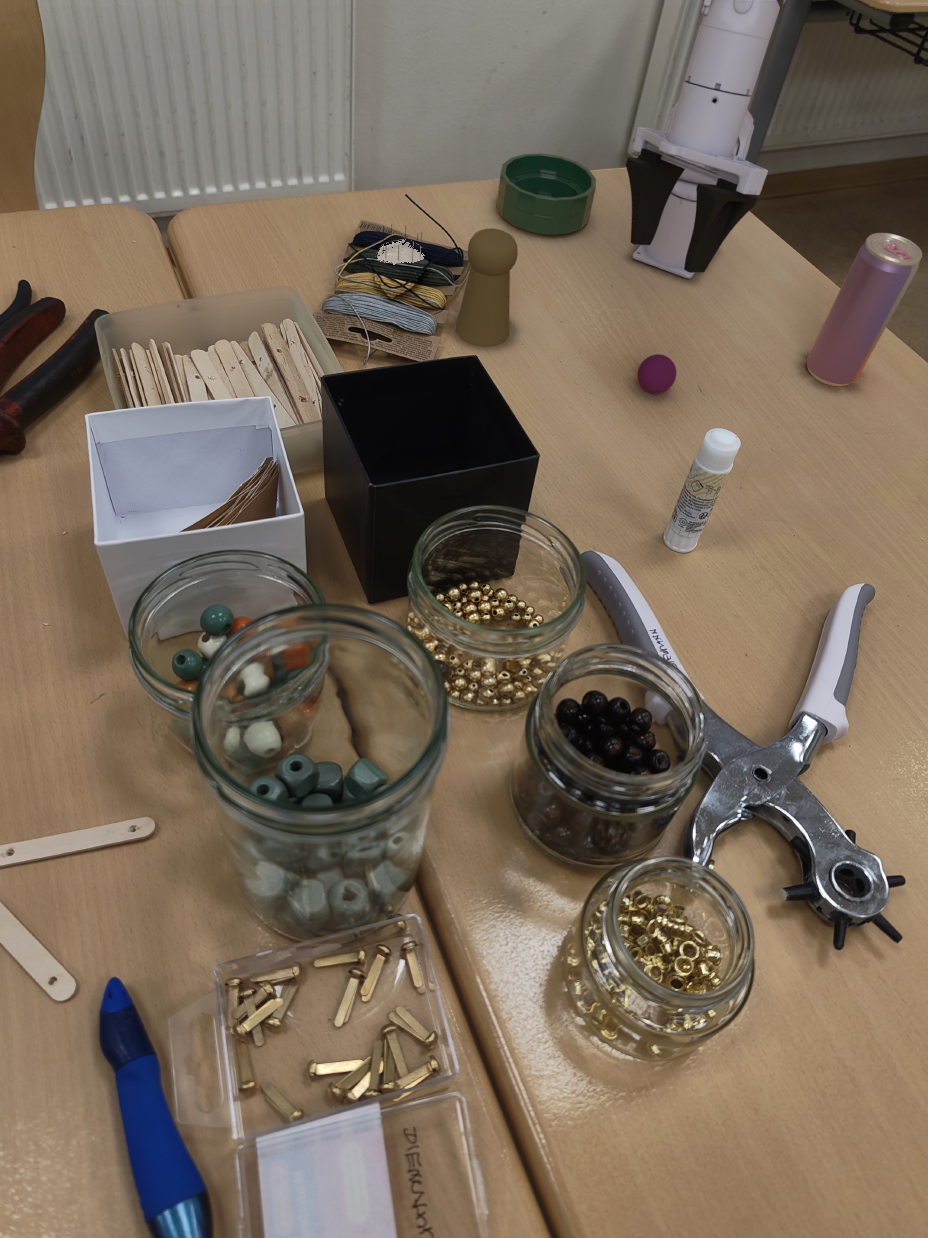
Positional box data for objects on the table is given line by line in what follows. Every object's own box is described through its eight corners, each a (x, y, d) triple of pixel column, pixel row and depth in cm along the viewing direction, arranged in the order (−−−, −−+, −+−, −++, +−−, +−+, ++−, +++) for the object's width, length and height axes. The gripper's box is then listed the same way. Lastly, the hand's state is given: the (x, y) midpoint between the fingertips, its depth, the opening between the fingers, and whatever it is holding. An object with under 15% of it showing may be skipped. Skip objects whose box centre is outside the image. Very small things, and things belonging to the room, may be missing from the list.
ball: (641, 373, 94) (651, 341, 91) (675, 386, 94) (686, 355, 90) (628, 392, 92) (637, 360, 89) (662, 406, 91) (673, 374, 88)
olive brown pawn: (504, 350, 95) (518, 256, 86) (450, 339, 95) (459, 244, 86) (513, 320, 98) (528, 226, 90) (461, 309, 99) (471, 215, 90)
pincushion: (416, 307, 98) (419, 260, 94) (363, 298, 98) (363, 251, 94) (433, 253, 105) (437, 207, 101) (384, 245, 105) (385, 199, 101)
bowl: (521, 182, 119) (527, 144, 115) (602, 210, 116) (610, 172, 112) (480, 217, 112) (484, 177, 108) (564, 248, 109) (572, 209, 105)
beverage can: (828, 393, 96) (894, 267, 84) (793, 362, 99) (852, 236, 87) (867, 381, 98) (937, 257, 86) (831, 351, 101) (894, 227, 89)
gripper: (626, 65, 74) (586, 231, 83) (747, 102, 65) (688, 284, 73) (685, 75, 78) (640, 233, 86) (807, 111, 69) (744, 284, 77)
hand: (666, 257), depth 80 cm, fingers open, 7 cm apart
